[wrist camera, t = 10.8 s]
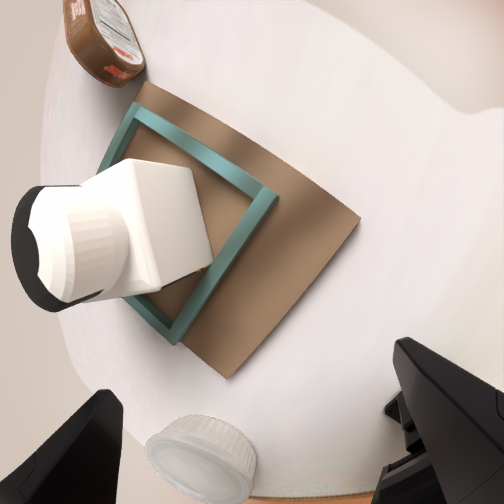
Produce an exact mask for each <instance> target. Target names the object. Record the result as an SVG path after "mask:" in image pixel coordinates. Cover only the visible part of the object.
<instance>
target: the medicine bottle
mask: <svg viewBox="0 0 504 504" xmlns="http://www.w3.org/2000/svg"><path fill="white" fill-rule="evenodd" d="M11 250H12V257H13V262H14V266H15V270H16V273H17V275H18V278H19V280H20V282H21V284H22V286H23V288H24V290H25V292H26V293H27V295H28V296H29V298H30V299H31V300H32V301H33V302H34V303H35V304H36V305H38V306H39V307H41V308H42V309H44V310H47V311H49V312H59V311H61V310H64V309H66V308H69V307H71V306H74V305H76V304H79V303H81V302H82V303H89V302H95V301H101V300H108V299H114V298H120V297H126V296H132V295H138V294H144V293H150V292H156V291H159V290H161V289H163V288H166V287H168V286H170V285H172V284H174V283H176V282H178V281H180V280H182V279H184V278H186V277H188V276H190V275H192V274H194V273H197V272H199V271H201V270H203V269H205V268H207V267H209V266H211V264H212V263H213V261H214V259H213V255H212V251H211V247H210V243H209V239H208V235H207V231H206V227H205V223H204V219H203V215H202V211H201V207H200V203H199V199H198V194H197V190H196V186H195V182H194V177H193V173H192V170H191V169H189V168H186V167H180V166H174V165H168V164H162V163H156V162H150V161H144V160H137V159H125V160H123V161H121V162H119V163H117V164H116V165H114V166H112V167H110V168H108V169H106V170H105V171H103V172H101V173H99V174H97V175H96V176H94V177H92V178H91V179H89V180H87V181H85V182H84V183H82V184H80V185H65V186H36V187H33V188H32V189H30V190H29V191H28V192H27V193H26V194H25V195H24V196H23V197H22V199H21V200H20V202H19V203H18V206H17V208H16V211H15V214H14V218H13V223H12V232H11Z"/></svg>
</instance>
